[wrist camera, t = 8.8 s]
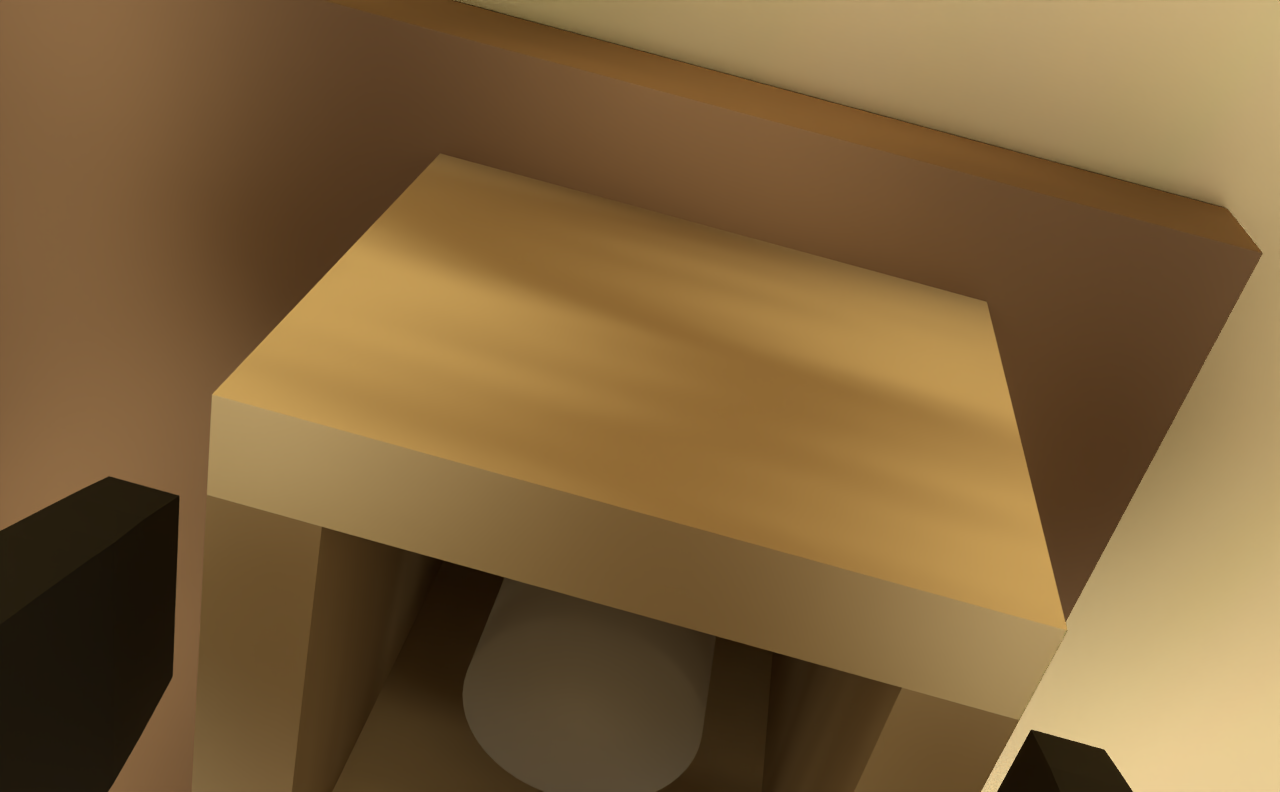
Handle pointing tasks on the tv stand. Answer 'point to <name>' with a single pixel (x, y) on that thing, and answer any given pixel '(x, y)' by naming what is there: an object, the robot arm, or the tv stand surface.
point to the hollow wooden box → (616, 499)
